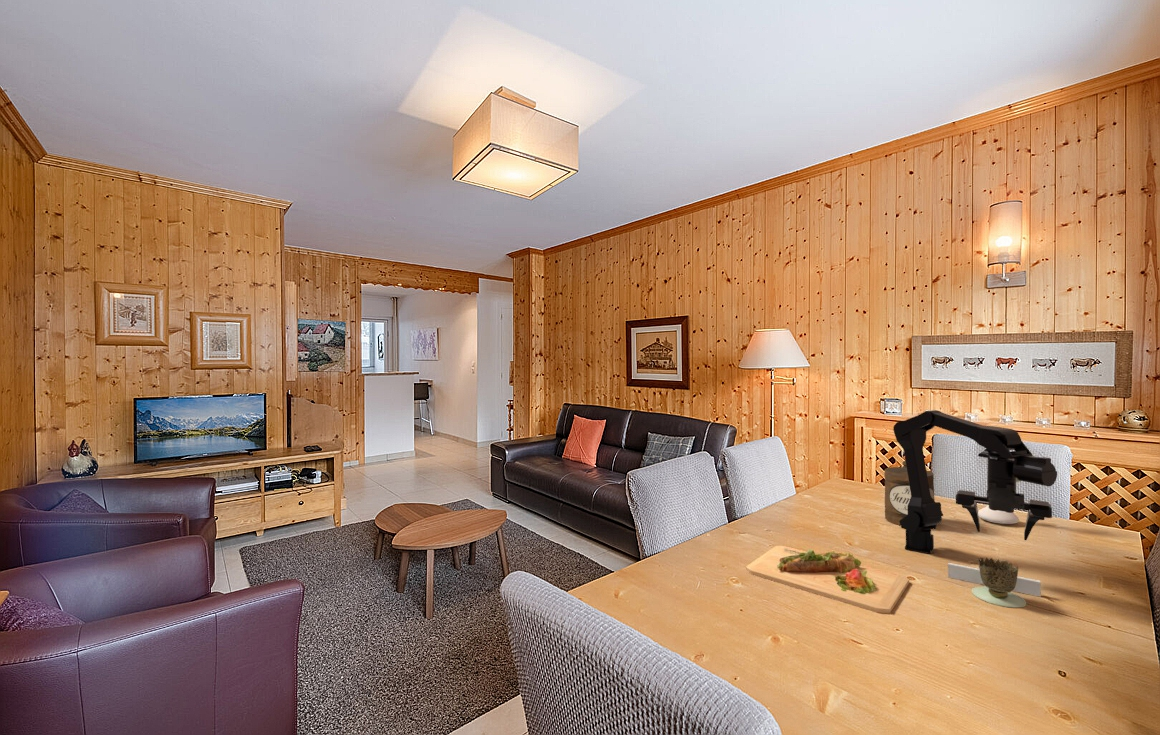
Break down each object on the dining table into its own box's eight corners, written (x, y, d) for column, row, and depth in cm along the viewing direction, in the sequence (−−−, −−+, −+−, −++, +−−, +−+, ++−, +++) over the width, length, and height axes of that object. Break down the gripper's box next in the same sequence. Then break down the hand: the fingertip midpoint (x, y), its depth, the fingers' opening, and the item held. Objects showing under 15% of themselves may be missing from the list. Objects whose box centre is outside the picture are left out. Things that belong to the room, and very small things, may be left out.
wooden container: (892, 526, 168) (891, 464, 168) (879, 513, 182) (878, 455, 182) (942, 530, 163) (941, 465, 163) (925, 516, 178) (924, 457, 177)
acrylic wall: (948, 577, 129) (947, 564, 129) (948, 575, 129) (948, 562, 129) (1041, 596, 117) (1040, 582, 117) (1040, 594, 118) (1040, 580, 118)
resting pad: (971, 599, 117) (971, 598, 117) (972, 584, 124) (972, 583, 124) (1027, 612, 110) (1027, 610, 110) (1024, 595, 118) (1024, 594, 118)
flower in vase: (969, 519, 173) (968, 450, 173) (987, 514, 178) (986, 447, 178) (1014, 530, 161) (1013, 456, 161) (1032, 525, 166) (1030, 452, 166)
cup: (1026, 604, 113) (1026, 570, 113) (990, 602, 114) (990, 568, 114) (1005, 590, 120) (1005, 558, 120) (971, 587, 122) (971, 556, 122)
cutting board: (910, 583, 127) (909, 555, 127) (888, 618, 110) (887, 586, 110) (777, 549, 151) (777, 526, 151) (743, 574, 135) (743, 547, 135)
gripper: (954, 477, 126) (953, 536, 127) (1053, 489, 114) (1053, 554, 114) (957, 469, 135) (957, 524, 135) (1050, 480, 122) (1050, 540, 122)
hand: (1001, 535), depth 126 cm, fingers open, 9 cm apart
